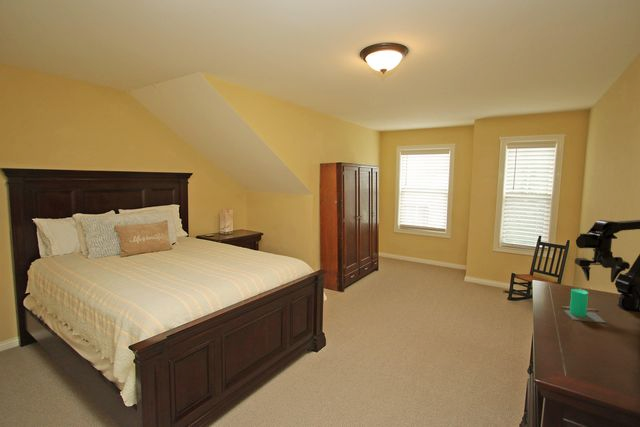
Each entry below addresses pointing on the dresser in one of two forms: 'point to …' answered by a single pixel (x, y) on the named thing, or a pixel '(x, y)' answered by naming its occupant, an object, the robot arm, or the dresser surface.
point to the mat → (585, 317)
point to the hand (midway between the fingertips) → (599, 281)
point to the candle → (578, 302)
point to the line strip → (587, 308)
